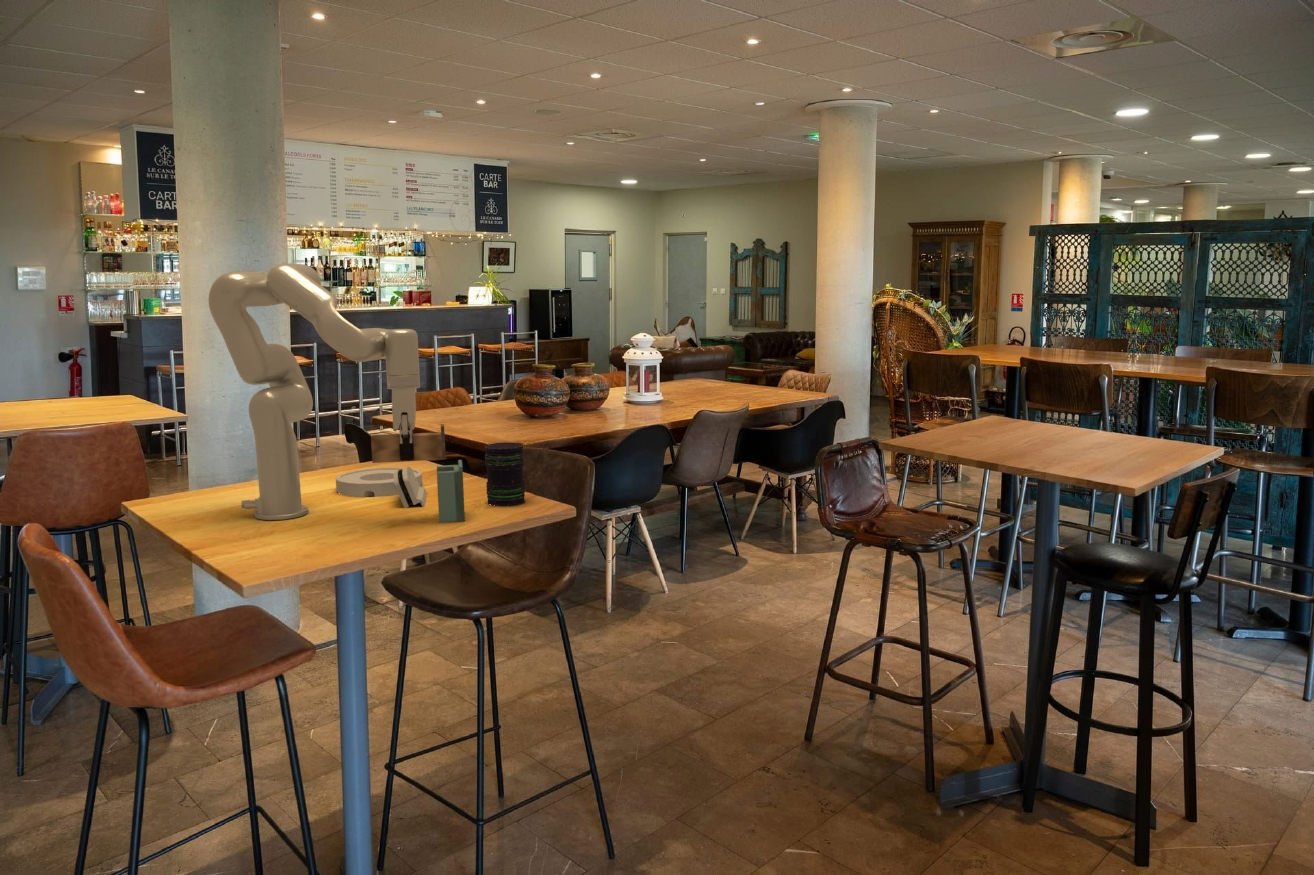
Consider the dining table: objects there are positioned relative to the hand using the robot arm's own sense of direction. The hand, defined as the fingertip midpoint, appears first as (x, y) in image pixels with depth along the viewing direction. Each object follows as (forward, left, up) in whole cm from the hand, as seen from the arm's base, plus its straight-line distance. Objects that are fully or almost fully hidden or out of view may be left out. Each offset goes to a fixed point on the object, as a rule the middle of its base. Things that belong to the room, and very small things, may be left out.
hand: (407, 457), depth 231 cm
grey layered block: (-1, +22, -16) cm, 27 cm away
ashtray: (-9, +41, -16) cm, 45 cm away
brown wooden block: (0, 0, 0) cm, 0 cm away
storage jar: (+24, +13, -15) cm, 31 cm away
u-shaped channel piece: (+10, 0, -15) cm, 18 cm away
